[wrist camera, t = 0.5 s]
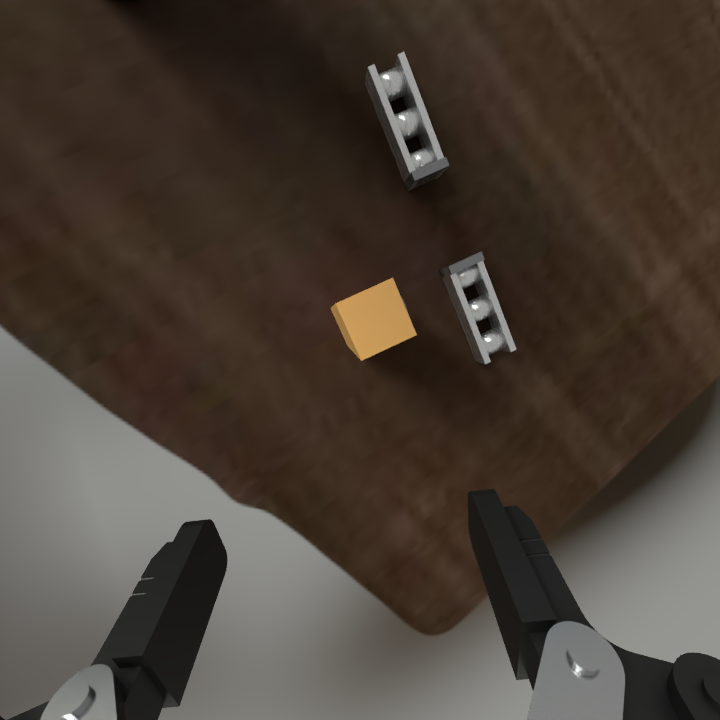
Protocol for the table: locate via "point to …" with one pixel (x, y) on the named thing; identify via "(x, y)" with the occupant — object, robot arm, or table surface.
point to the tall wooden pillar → (374, 319)
